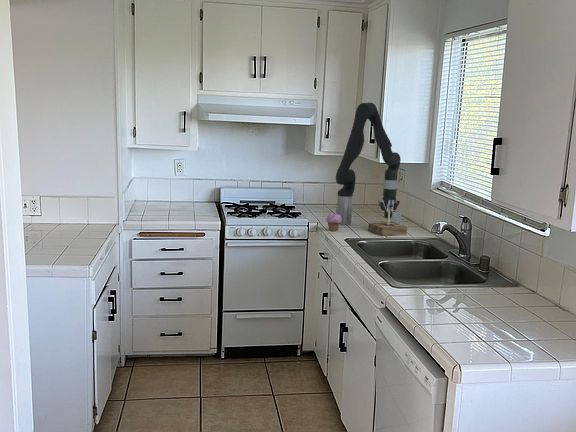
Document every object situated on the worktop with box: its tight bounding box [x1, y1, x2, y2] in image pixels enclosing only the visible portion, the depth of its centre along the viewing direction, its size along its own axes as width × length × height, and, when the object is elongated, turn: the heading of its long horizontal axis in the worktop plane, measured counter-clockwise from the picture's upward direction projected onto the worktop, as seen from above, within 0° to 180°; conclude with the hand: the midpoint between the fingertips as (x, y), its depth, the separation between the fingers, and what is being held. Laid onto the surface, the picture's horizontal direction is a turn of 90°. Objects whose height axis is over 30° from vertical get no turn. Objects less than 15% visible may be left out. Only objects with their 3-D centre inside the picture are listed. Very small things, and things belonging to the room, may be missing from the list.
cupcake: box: [325, 212, 342, 232], centre depth 336 cm, size 9×9×10 cm
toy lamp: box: [385, 200, 393, 226], centre depth 334 cm, size 5×5×17 cm
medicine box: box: [390, 211, 403, 225], centre depth 353 cm, size 8×4×9 cm, turn 74°
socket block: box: [368, 221, 408, 237], centre depth 336 cm, size 15×16×5 cm
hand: (388, 217), depth 335 cm, fingers closed on toy lamp
